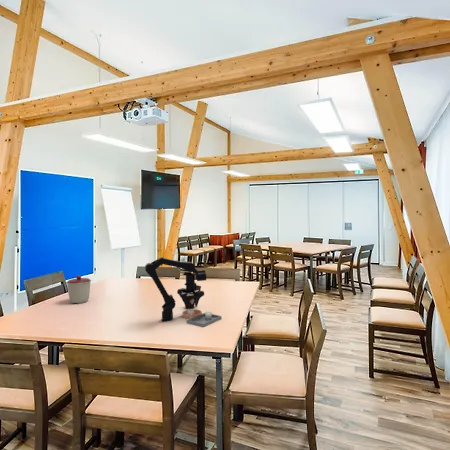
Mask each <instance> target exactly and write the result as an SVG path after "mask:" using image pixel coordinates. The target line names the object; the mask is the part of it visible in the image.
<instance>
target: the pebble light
mask: <svg viewBox="0 0 450 450" xmlns="http://www.w3.org/2000/svg"><path fill="white" fill-rule="evenodd" d="M193 309H194V308H193ZM193 309H187V310H188V315H194V310H193Z"/></svg>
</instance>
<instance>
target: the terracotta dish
mask: <svg viewBox="0 0 450 450" xmlns="http://www.w3.org/2000/svg"><path fill="white" fill-rule="evenodd" d="M188 310H189V309H186V310H184V311H182V313H181V315H182V318H183V319H186V320H189V319H191V318H194V317H196V316H199V315H201V314H203V311H202V310H201V309H196V308H193V310H194V315H188Z"/></svg>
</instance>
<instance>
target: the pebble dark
mask: <svg viewBox="0 0 450 450" xmlns="http://www.w3.org/2000/svg"><path fill="white" fill-rule="evenodd" d="M204 313H205V320H211V319H212V314H213V313H212V311H206V312H204Z"/></svg>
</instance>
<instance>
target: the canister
mask: <svg viewBox="0 0 450 450" xmlns="http://www.w3.org/2000/svg"><path fill="white" fill-rule="evenodd" d="M91 282H92V279H90V278H88V277H82V275H80V274H79V275H76V277H75V278H72V279H69V280H68V281H66V282H65V283H66V285H67V293H68V297H69V302H70V303H71V304H74V303H78V304H83V303H87V302H88V301H89V299H90V293H91V292H90V291H91Z"/></svg>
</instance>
